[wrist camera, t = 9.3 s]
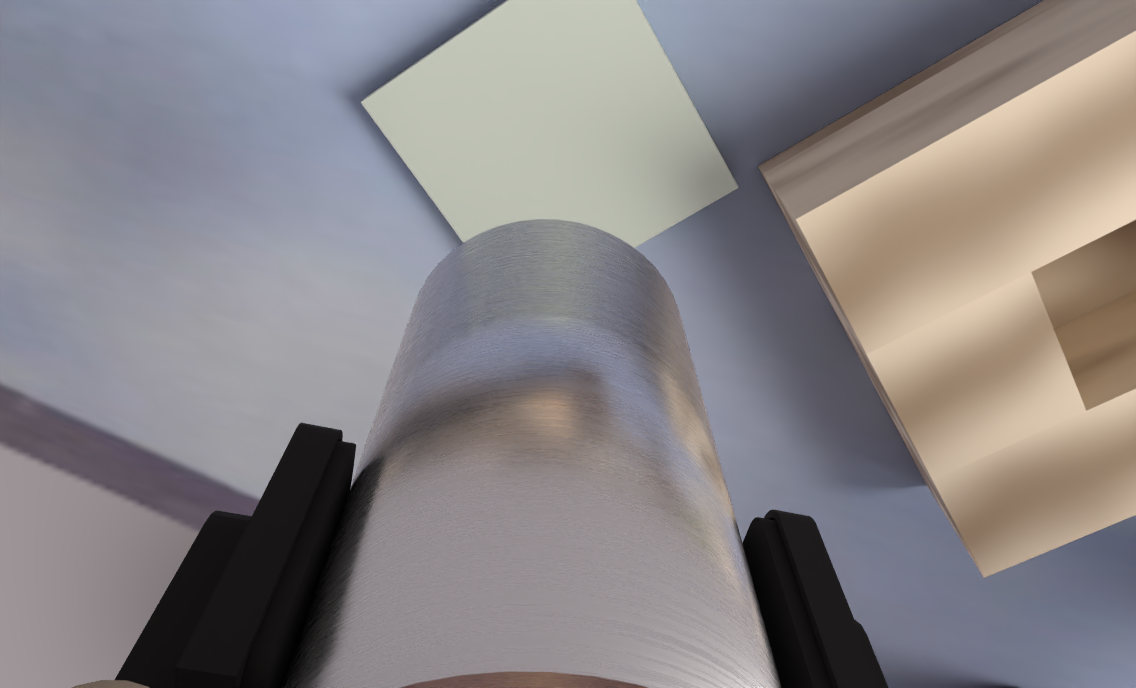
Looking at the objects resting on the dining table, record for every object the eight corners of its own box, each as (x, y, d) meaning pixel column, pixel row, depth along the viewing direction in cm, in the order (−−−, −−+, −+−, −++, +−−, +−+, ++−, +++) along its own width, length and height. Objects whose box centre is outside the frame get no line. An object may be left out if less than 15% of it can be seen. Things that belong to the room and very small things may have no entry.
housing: (1340, 300, 35) (1479, 372, 30) (927, 486, 39) (983, 578, 34) (1251, -120, 28) (1413, -124, 22) (757, 166, 32) (795, 219, 27)
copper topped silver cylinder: (730, 383, 17) (951, 1037, 7) (511, 496, 18) (455, 1175, 9) (589, 163, 15) (642, 688, 5) (352, 312, 16) (43, 946, 7)
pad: (734, 179, 32) (738, 187, 31) (517, 304, 35) (516, 315, 34) (600, -65, 28) (601, -64, 27) (366, 96, 31) (360, 102, 30)
